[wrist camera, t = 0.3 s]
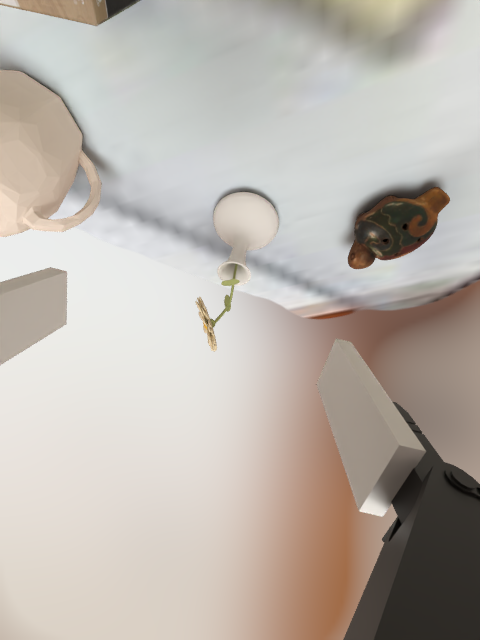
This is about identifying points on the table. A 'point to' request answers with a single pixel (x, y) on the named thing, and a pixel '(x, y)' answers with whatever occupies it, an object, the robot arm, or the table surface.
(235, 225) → the flower in vase
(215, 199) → the table surface
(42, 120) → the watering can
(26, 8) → the tea box
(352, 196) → the table surface
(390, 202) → the painted clay ocarina
